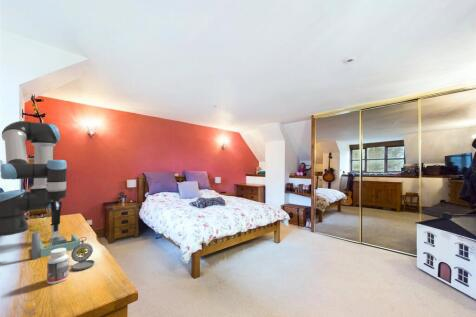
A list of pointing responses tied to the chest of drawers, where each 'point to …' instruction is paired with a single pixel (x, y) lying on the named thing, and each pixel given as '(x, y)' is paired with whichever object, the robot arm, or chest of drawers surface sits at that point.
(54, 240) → the grey rectangular block
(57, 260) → the pill bottle
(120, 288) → the chest of drawers surface
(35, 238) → the keeper
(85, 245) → the pocket watch
